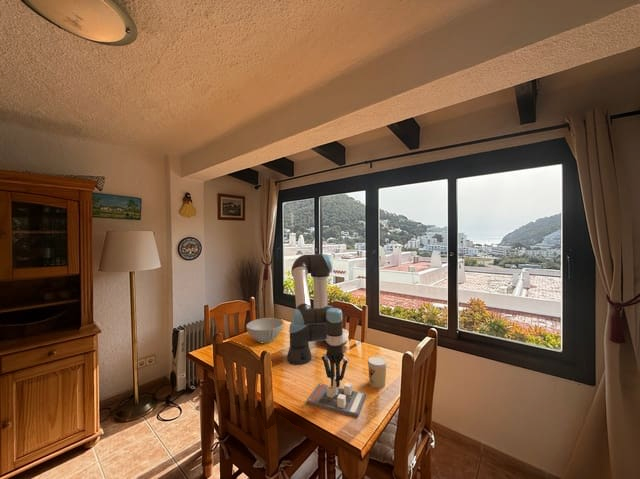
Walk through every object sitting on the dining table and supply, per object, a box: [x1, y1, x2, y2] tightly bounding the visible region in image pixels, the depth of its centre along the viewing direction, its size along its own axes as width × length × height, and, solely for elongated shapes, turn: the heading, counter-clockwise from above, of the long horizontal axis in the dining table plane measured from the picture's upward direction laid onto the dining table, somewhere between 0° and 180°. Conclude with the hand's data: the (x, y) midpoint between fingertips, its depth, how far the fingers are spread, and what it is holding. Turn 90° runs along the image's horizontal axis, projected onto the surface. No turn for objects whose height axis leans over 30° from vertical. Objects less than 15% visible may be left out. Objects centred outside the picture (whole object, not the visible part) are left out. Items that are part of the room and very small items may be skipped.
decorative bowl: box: [245, 317, 284, 344], centre depth 192 cm, size 27×27×12 cm
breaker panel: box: [305, 382, 367, 419], centre depth 121 cm, size 24×15×6 cm, turn 67°
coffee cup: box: [367, 356, 387, 389], centre depth 133 cm, size 9×9×12 cm
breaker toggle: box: [327, 383, 335, 398], centre depth 122 cm, size 3×3×4 cm
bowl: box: [325, 328, 350, 344], centre depth 186 cm, size 18×18×7 cm
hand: (335, 393), depth 121 cm, fingers closed
